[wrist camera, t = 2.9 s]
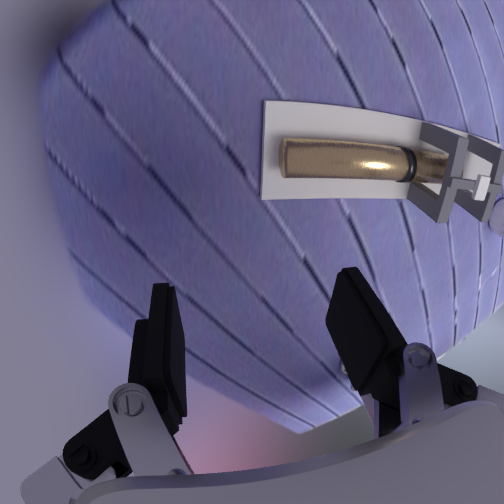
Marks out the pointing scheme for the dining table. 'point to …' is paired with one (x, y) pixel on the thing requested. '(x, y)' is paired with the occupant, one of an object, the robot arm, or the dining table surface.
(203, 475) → the robot arm
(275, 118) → the collar plate
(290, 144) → the tube
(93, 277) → the dining table surface
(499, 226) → the water bottle
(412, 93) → the dining table surface
